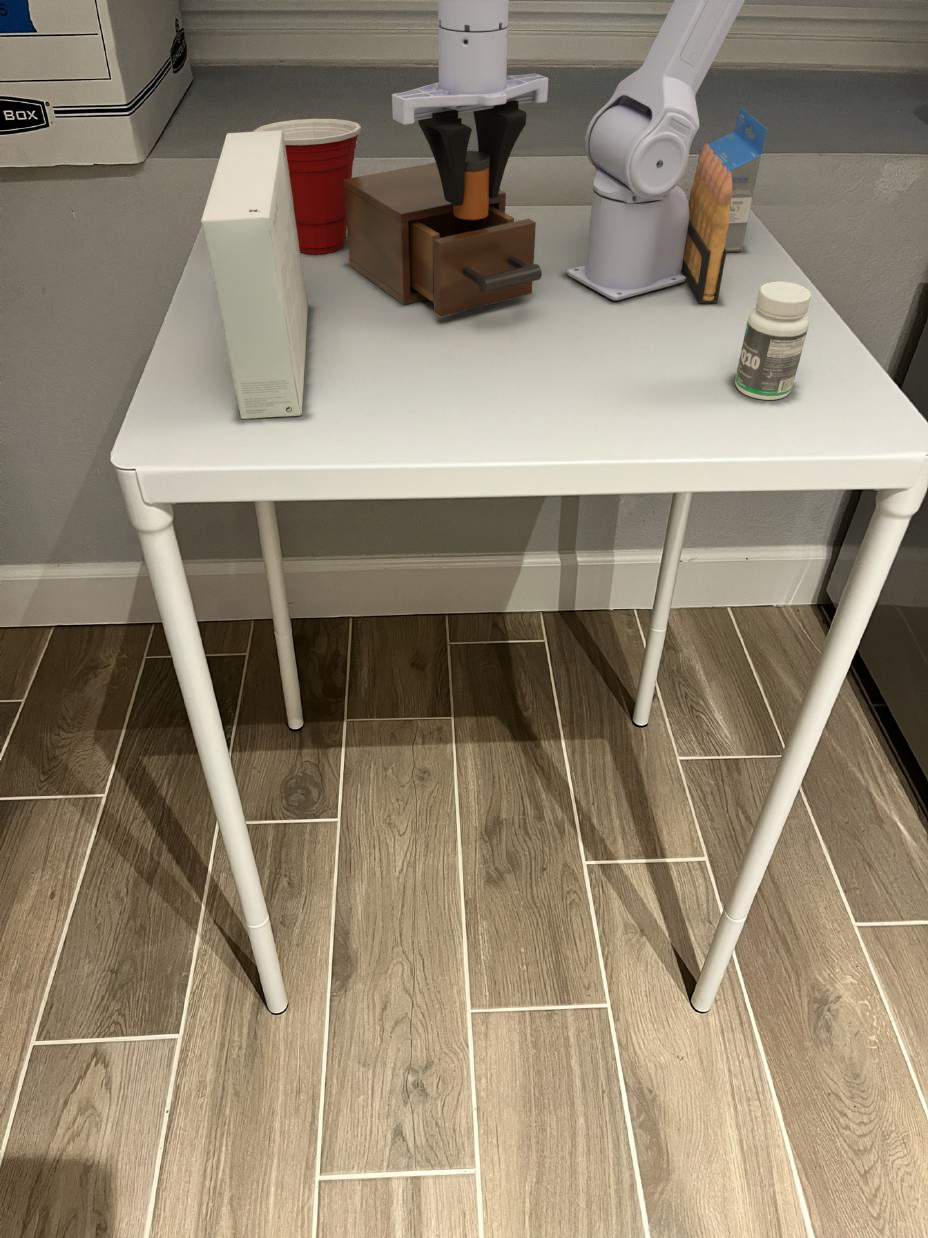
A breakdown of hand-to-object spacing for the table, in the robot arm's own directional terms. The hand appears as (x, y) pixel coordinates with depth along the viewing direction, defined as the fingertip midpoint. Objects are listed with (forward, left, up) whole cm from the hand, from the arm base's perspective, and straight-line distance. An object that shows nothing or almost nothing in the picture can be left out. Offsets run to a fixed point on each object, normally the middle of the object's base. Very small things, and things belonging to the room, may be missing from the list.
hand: (470, 198), depth 87 cm
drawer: (0, 0, -9) cm, 9 cm away
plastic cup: (+6, -22, -10) cm, 25 cm away
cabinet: (0, -9, -10) cm, 13 cm away
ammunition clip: (-23, +8, -10) cm, 26 cm away
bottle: (0, 0, -1) cm, 1 cm away
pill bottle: (-12, +27, -10) cm, 32 cm away
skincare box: (+21, +1, -10) cm, 23 cm away
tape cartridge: (-33, 0, -10) cm, 34 cm away
